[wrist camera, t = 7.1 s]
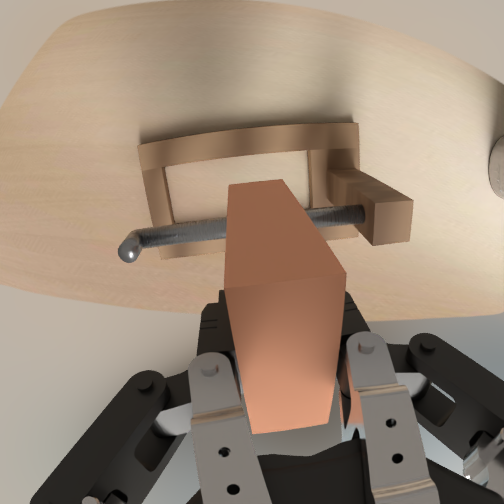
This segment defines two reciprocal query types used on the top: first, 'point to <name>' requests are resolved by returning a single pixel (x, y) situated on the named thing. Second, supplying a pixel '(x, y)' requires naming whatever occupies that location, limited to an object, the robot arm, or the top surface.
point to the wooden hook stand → (320, 178)
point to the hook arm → (224, 229)
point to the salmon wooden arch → (282, 307)
